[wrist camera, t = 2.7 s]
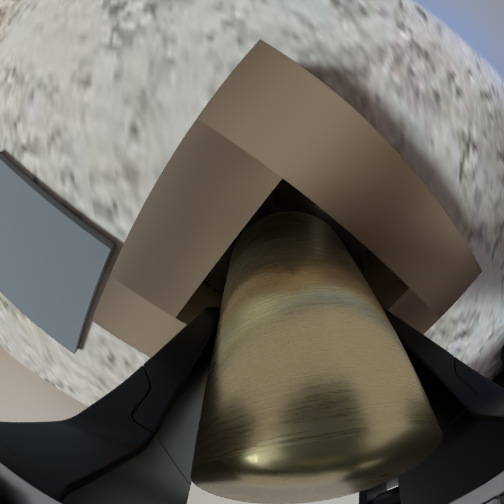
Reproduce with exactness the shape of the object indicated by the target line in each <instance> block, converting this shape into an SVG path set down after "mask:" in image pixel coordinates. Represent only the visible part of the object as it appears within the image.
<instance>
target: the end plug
mask: <svg viewBox="0 0 504 504" xmlns="http://www.w3.org/2000/svg"><path fill="white" fill-rule="evenodd" d="M441 440H442V432H441V429H440V426H439V424H438V421H437V419H436V417H435V414H434V412H433V409H432V407H431V405H430V402H429V400H428V398H427V396H426V393H425V391H424V389H423V387H422V385H421V382H420V380H419V378H418V376H417V374H416V372H415V370H414V368H413V366H412V364H411V362H410V360H409V358H408V356H407V354H406V352H405V350H404V348H403V346H402V344H401V342H400V340H399V338H398V336H397V334H396V332H395V331H394V329H393V327H392V325H391V323H390V321H389V320H388V318H387V316H386V314H385V312H384V311H383V309H382V307H381V305H380V304H379V302H378V300H377V298H376V297H375V295H374V293H373V291H372V290H371V288H370V286H369V285H368V283H367V281H366V280H365V278H364V276H363V275H362V273H361V272H360V270H359V268H358V267H357V265H356V263H355V262H354V260H353V259H352V257H351V256H350V254H349V252H348V251H347V249H346V248H345V246H344V245H343V243H342V242H341V240H340V239H339V237H338V236H337V234H336V233H335V231H334V230H333V229H332V228H331V227H330V226H329V225H328V224H327V223H325V222H324V221H323V220H321V219H319V218H317V217H315V216H313V215H310V214H308V213H303V212H298V211H282V212H277V213H273V214H270V215H267V216H265V217H262V218H260V219H258V220H257V221H255V222H254V223H252V224H251V225H250V226H249V227H248V228H246V230H245V231H244V232H243V233H242V234H241V235H240V237H239V238H238V240H237V242H236V244H235V246H234V249H233V252H232V255H231V260H230V265H229V270H228V275H227V279H226V284H225V289H224V294H223V299H222V304H221V309H220V314H219V319H218V324H217V329H216V334H215V339H214V345H213V350H212V355H211V360H210V366H209V371H208V376H207V382H206V387H205V393H204V398H203V404H202V409H201V415H200V421H199V427H198V432H197V438H196V444H195V450H194V456H193V462H192V469H191V480H192V482H193V483H194V484H195V485H196V486H198V487H199V488H201V489H202V490H205V491H207V492H209V493H211V494H214V495H217V496H220V497H224V498H228V499H232V500H238V501H243V502H251V503H262V504H296V503H307V502H315V501H321V500H328V499H332V498H338V497H341V496H346V495H350V494H353V493H357V492H360V491H363V490H366V489H369V488H372V487H375V486H377V485H380V484H382V483H384V482H387V481H389V480H391V479H393V478H395V477H397V476H399V475H401V474H403V473H405V472H406V471H408V470H410V469H411V468H413V467H414V466H416V465H417V464H419V463H420V462H422V461H423V460H424V459H425V458H427V457H428V456H429V455H430V454H431V453H432V452H433V451H434V450H435V449H436V448H437V447H438V445H439V444H440V442H441Z"/></svg>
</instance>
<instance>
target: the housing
mask: <svg viewBox="0 0 504 504" xmlns="http://www.w3.org/2000/svg"><path fill="white" fill-rule="evenodd" d="M282 178H283V179H284V180H286V181H287V182H288V183H290V184H291V185H292V186H293V187H295V188H296V189H297V190H299V191H300V192H301V193H302V194H304V195H305V196H306V197H308V198H309V199H310V200H311V201H313V202H314V203H315V204H316V205H318V206H319V207H320V208H321V209H322V210H324V211H325V212H326V213H327V214H329V215H330V216H331V217H332V218H333V219H335V220H336V221H337V222H338V223H339V224H340V225H342V226H343V227H344V228H345V229H346V230H348V231H349V232H350V233H351V234H352V235H353V236H354V237H356V238H357V239H358V240H359V241H360V242H361V243H362V244H364V245H365V246H366V247H367V248H368V249H369V250H370V251H371V252H372V253H374V254H375V255H376V256H377V258H376V259H375V260H374V261H373V262H372V263H371V264H370V266H369V267H368V268H367V269H366V270H365V271H364V272H363V273H362V275H363V276H364V278H365V280H366V281H367V283H368V285H369V286H370V288H371V290H372V291H373V293H374V295H375V297H376V298H377V300H378V302H379V304H380V305H381V307H382V308H385V309H386V310H388V311H389V312H391V313H392V314H394V315H395V316H397V317H398V318H400V319H401V320H403V321H404V322H405V323H407V324H408V325H410V326H411V327H413V328H414V329H416V330H417V331H419V332H420V333H421V334H424V333H425V332H426V331H427V330H428V329H429V328H430V327H431V326H432V325H433V324H435V323H436V322H437V321H438V320H439V319H440V318H441V317H442V316H443V315H444V313H445V312H446V311H447V310H448V309H449V308H450V307H451V306H452V305H453V304H454V303H455V302H456V301H457V300H458V299H459V297H460V296H461V295H462V294H463V293H464V292H465V291H466V290H467V288H468V287H469V286H470V285H471V284H472V283H473V281H474V280H475V279H476V278H477V276H478V275H479V274H480V273H481V271H482V270H481V268H480V266H479V264H478V262H477V261H476V259H475V257H474V255H473V254H472V252H471V250H470V249H469V247H468V245H467V244H466V242H465V240H464V239H463V237H462V235H461V234H460V232H459V231H458V229H457V228H456V226H455V225H454V223H453V222H452V220H451V219H450V217H449V216H448V214H447V213H446V211H445V210H444V209H443V207H442V206H441V204H440V203H439V202H438V200H437V199H436V198H435V196H434V195H433V194H432V192H431V191H430V190H429V188H428V187H427V186H426V185H425V183H424V182H423V181H422V180H421V178H420V177H419V176H418V175H417V174H416V172H415V171H414V170H413V169H412V168H411V166H410V165H409V164H408V163H407V162H406V161H405V160H404V158H403V157H402V156H401V155H400V154H399V153H398V152H397V151H396V150H395V148H394V147H393V146H392V145H391V144H390V143H389V142H388V141H387V140H386V139H385V138H384V137H383V136H382V135H381V134H380V133H379V132H378V131H377V130H376V129H375V128H374V127H373V126H372V125H371V124H370V123H369V122H368V121H367V120H366V119H365V118H364V117H363V116H362V115H360V114H359V113H358V112H357V111H356V110H355V109H354V108H353V107H352V106H351V105H349V104H348V103H347V102H346V101H345V100H344V99H342V98H341V97H340V96H339V95H338V94H337V93H335V92H334V91H333V90H332V89H330V88H329V87H328V86H327V85H325V84H324V83H323V82H322V81H320V80H319V79H318V78H316V77H315V76H314V75H312V74H311V73H310V72H308V71H307V70H306V69H304V68H303V67H302V66H300V65H299V64H297V63H296V62H294V61H293V60H292V59H290V58H289V57H287V56H286V55H284V54H283V53H281V52H280V51H278V50H276V49H275V48H273V47H272V46H270V45H268V44H267V43H265V42H264V41H262V40H259V41H258V42H257V43H256V45H255V46H254V47H253V48H252V49H251V50H250V51H249V52H248V54H247V55H246V56H245V57H244V58H243V59H242V61H241V62H240V63H239V64H238V65H237V67H236V68H235V69H234V70H233V71H232V73H231V74H230V75H229V76H228V78H227V79H226V80H225V81H224V83H223V84H222V85H221V87H220V88H219V89H218V90H217V92H216V93H215V94H214V96H213V97H212V98H211V100H210V101H209V102H208V104H207V105H206V107H205V108H204V109H203V111H202V112H201V113H200V115H199V116H198V118H197V119H196V121H195V122H194V123H193V125H192V126H191V128H190V129H189V131H188V132H187V134H186V135H185V137H184V138H183V140H182V141H181V143H180V144H179V146H178V148H177V149H176V151H175V152H174V154H173V155H172V157H171V159H170V160H169V162H168V164H167V165H166V167H165V168H164V170H163V172H162V173H161V175H160V177H159V179H158V180H157V182H156V184H155V186H154V187H153V189H152V191H151V193H150V194H149V196H148V198H147V200H146V202H145V203H144V205H143V207H142V209H141V211H140V213H139V215H138V217H137V219H136V221H135V223H134V224H133V226H132V228H131V230H130V232H129V235H128V237H127V239H126V241H125V243H124V245H123V247H122V249H121V251H120V253H119V256H118V258H117V260H116V262H115V264H114V267H113V269H112V271H111V274H110V276H109V278H108V281H107V283H106V285H105V288H104V290H103V293H102V295H101V298H100V300H99V303H98V306H97V308H96V311H95V314H94V316H93V319H92V321H93V322H95V323H96V324H98V325H99V326H101V327H102V328H104V329H105V330H107V331H108V332H110V333H111V334H113V335H114V336H116V337H117V338H119V339H121V340H122V341H124V342H125V343H127V344H129V345H130V346H132V347H134V348H135V349H137V350H139V351H140V352H142V353H144V354H146V355H147V356H149V357H152V356H153V355H155V354H156V353H157V352H158V351H159V350H160V349H161V348H162V347H163V346H164V345H166V344H167V343H168V342H169V341H170V340H171V339H172V338H173V337H174V336H175V335H176V334H177V333H179V332H180V331H181V330H182V329H183V328H184V327H185V326H186V325H187V324H188V323H189V322H191V321H192V320H193V319H194V318H195V317H196V316H197V315H198V314H199V313H200V312H201V311H202V310H203V309H205V308H206V307H207V306H217V307H219V308H220V309H221V304H222V299H223V296H222V295H220V294H219V293H217V292H216V291H214V290H212V289H211V288H209V287H207V286H206V285H204V284H203V283H202V281H203V280H204V279H205V277H206V276H207V275H208V273H209V272H210V271H211V270H212V268H213V267H214V266H215V264H216V263H217V262H218V260H219V259H220V258H221V256H222V255H223V254H224V252H225V251H226V250H227V249H228V247H229V246H230V245H231V243H232V242H233V241H234V239H235V238H236V237H237V236H238V234H239V233H240V232H241V230H242V229H243V228H244V226H245V225H246V224H247V223H248V221H249V220H250V219H251V217H252V216H253V215H254V214H255V212H256V211H257V210H258V209H259V207H260V206H261V205H262V203H263V202H264V201H265V200H266V198H267V197H268V196H269V195H270V193H271V192H272V191H273V190H274V188H275V187H276V186H277V184H278V183H279V182H280V181H281V179H282Z"/></svg>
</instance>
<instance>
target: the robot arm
mask: <svg viewBox="0 0 504 504" xmlns="http://www.w3.org/2000/svg"><path fill="white" fill-rule="evenodd" d="M382 309H383V311H384V312H385V314H386V316H387V318H388V320H389V321H390V323H391V325H392V327H393V329H394V331H395V332H396V334H397V336H398V338H399V340H400V342H401V344H402V346H403V348H404V350H405V352H406V354H407V356H408V358H409V360H410V362H411V364H412V366H413V368H414V370H415V372H416V374H417V376H418V378H419V380H420V382H421V385H422V387H423V389H424V391H425V393H426V396H427V398H428V400H429V402H430V405H431V407H432V409H433V412H434V414H435V417H436V419H437V421H438V424H439V426H440V429H441V432H442V440H441V442H440V444H439V445H438V447H437V448H436V449H435V450H434V451H433V452H432V453H431V454H430V455H429V456H428V457H427V458H425V459H424V460H423V461H422V462H420V463H419V464H417V465H416V466H414V467H413V468H411V469H410V470H408V471H406V472H405V473H403V474H401V475H399V476H397V477H395V478H393V479H391V480H389V481H387V482H384V483H382V484H380V485H377V486H375V487H372V488H369V489H366V490H363V491H360V492H359V504H504V388H502V387H500V386H499V385H497V384H495V383H494V382H492V381H491V380H489V379H487V378H486V377H484V376H482V375H481V374H479V373H478V372H476V371H474V370H473V369H471V368H470V367H468V366H467V365H466V364H464V363H463V362H461V361H460V360H458V359H457V358H456V357H454V356H453V355H451V354H450V353H449V352H447V351H446V350H444V349H443V348H442V347H440V346H439V345H437V344H436V343H434V342H433V341H432V340H430V339H429V338H427V337H426V336H424V335H423V334H421V333H420V332H419V331H417V330H416V329H414V328H413V327H411V326H410V325H408V324H407V323H405V322H404V321H403V320H401V319H400V318H398V317H397V316H395V315H394V314H392V313H391V312H389V311H388V310H386V309H385V308H382ZM219 314H220V308H219V307H217V306H207V307H206V308H205V309H203V310H202V311H201V312H200V313H199V314H198V315H197V316H196V317H195V318H194V319H193V320H192V321H191V322H189V323H188V324H187V325H186V326H185V327H184V328H183V329H182V330H181V331H180V332H179V333H177V334H176V335H175V336H174V337H173V338H172V339H171V340H170V341H169V342H168V343H167V344H166V345H164V346H163V347H162V348H161V349H160V350H159V351H158V352H157V353H156V354H155V355H153V356H152V357H151V358H150V359H149V360H148V361H147V362H146V363H145V364H144V366H141V367H140V368H139V369H138V370H137V371H136V372H135V373H134V374H132V375H131V376H130V377H129V378H128V379H126V380H125V381H124V382H123V383H122V384H120V385H119V386H118V387H116V388H115V389H114V390H112V391H111V392H110V393H108V394H107V395H105V396H104V397H103V398H101V399H100V400H98V401H97V402H95V403H94V404H92V405H91V406H90V407H88V408H87V409H85V410H84V411H82V412H81V413H79V414H78V415H76V416H74V417H72V418H69V419H66V420H63V421H52V422H0V504H186V503H187V499H188V495H189V490H190V485H191V481H192V480H191V469H192V462H193V456H194V450H195V444H196V438H197V432H198V427H199V421H200V415H201V409H202V404H203V398H204V393H205V387H206V382H207V376H208V371H209V366H210V360H211V355H212V350H213V345H214V339H215V334H216V329H217V324H218V319H219ZM397 485H398V487H396V488H393V489H391V490H388V491H387V489H389V488H391V487H394V486H397Z"/></svg>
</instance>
